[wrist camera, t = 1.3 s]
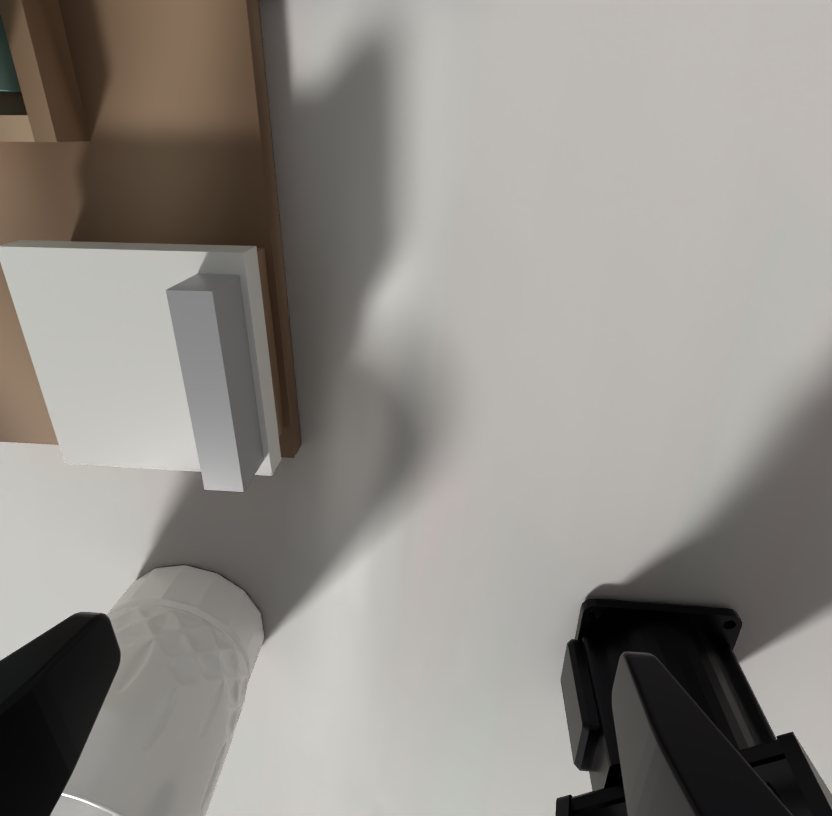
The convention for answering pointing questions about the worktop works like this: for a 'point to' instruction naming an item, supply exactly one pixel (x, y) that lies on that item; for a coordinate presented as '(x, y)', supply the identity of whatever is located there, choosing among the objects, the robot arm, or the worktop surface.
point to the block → (7, 65)
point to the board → (138, 157)
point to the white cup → (168, 697)
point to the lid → (150, 354)
